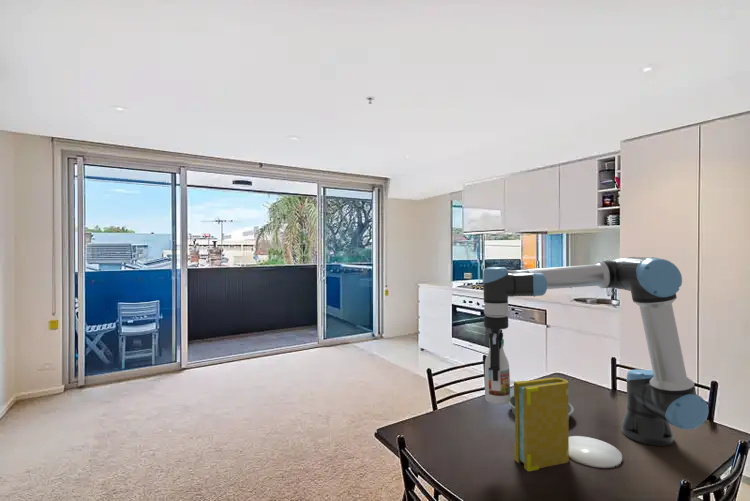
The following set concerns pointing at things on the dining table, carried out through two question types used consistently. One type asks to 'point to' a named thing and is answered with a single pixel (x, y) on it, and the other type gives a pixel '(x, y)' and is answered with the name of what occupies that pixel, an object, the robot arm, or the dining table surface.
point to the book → (541, 422)
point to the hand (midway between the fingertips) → (497, 385)
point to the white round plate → (593, 452)
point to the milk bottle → (504, 394)
